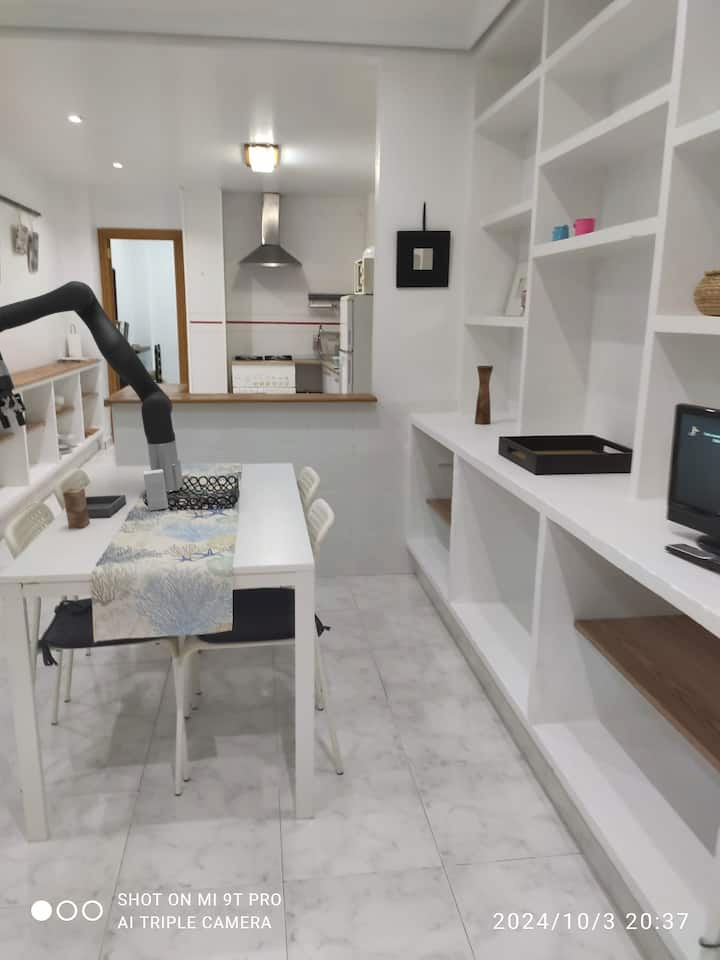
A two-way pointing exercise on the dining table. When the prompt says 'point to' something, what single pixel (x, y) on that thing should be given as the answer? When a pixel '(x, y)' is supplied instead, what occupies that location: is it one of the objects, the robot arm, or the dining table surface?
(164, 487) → the skincare box
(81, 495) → the block
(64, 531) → the dining table surface
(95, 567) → the dining table surface
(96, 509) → the tray
